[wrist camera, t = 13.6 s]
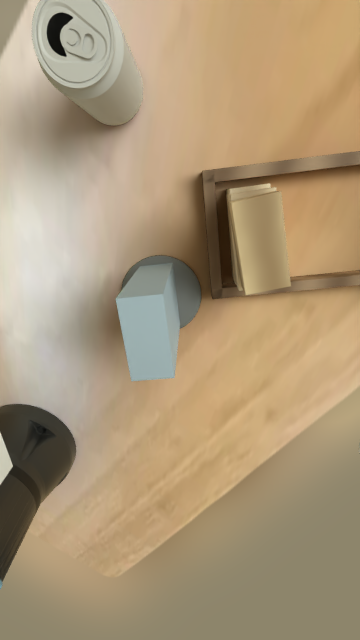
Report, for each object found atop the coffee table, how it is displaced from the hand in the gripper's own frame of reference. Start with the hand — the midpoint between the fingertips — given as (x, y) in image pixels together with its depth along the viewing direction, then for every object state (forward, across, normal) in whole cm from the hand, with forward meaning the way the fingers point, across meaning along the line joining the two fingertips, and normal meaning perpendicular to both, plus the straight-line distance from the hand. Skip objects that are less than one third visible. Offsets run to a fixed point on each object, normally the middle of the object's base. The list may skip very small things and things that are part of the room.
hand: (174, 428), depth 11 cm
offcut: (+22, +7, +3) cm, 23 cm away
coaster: (+29, -4, -4) cm, 30 cm away
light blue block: (+29, -4, -4) cm, 30 cm away
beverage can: (+30, -6, +18) cm, 35 cm away
